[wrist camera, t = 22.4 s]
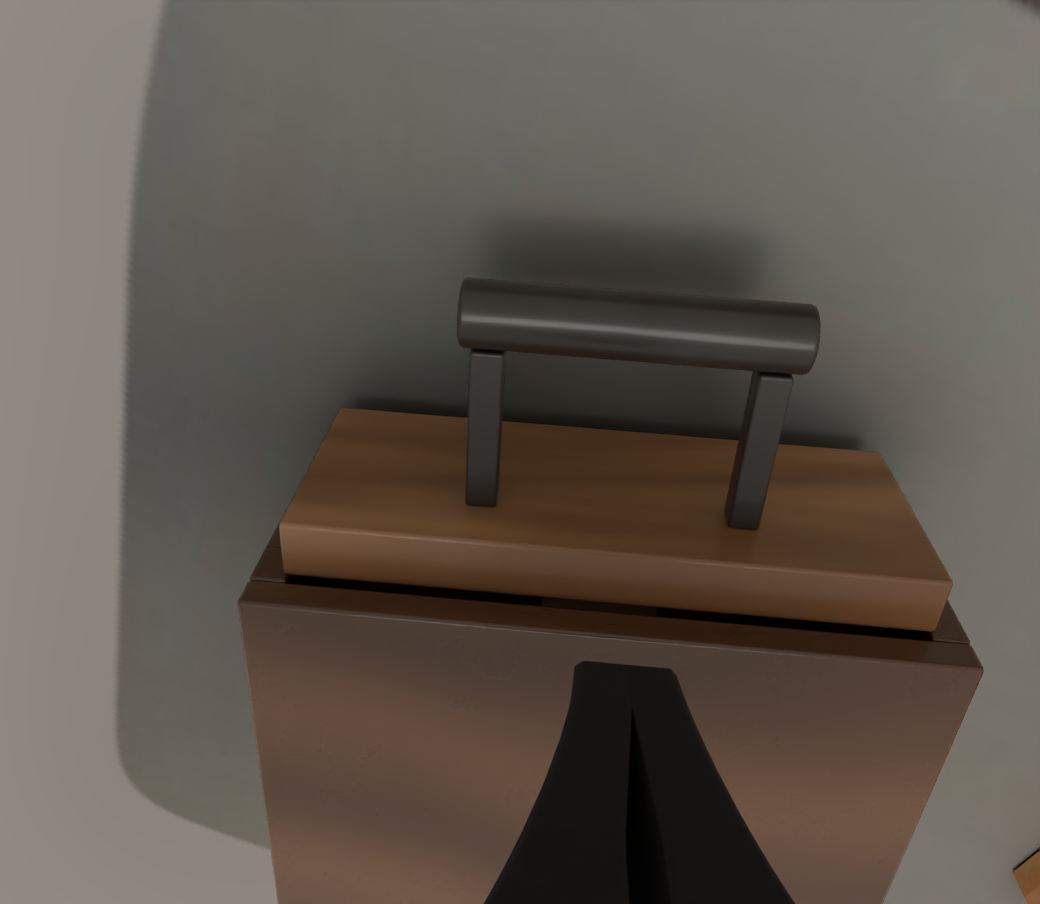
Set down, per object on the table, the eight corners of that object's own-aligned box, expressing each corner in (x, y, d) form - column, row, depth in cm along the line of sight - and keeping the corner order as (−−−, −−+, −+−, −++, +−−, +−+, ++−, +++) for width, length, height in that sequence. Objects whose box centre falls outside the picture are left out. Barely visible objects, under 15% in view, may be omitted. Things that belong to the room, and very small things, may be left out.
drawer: (330, 213, 18) (253, 293, 14) (939, 258, 18) (1043, 355, 13) (358, 751, 26) (314, 903, 22) (776, 791, 25) (812, 953, 21)
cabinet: (326, 431, 21) (235, 602, 16) (883, 478, 21) (986, 670, 16) (348, 776, 28) (287, 985, 22) (777, 818, 27) (824, 1041, 22)
